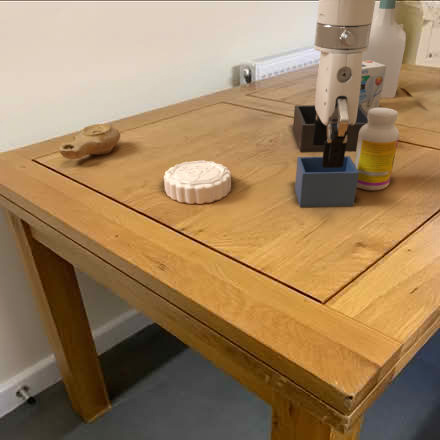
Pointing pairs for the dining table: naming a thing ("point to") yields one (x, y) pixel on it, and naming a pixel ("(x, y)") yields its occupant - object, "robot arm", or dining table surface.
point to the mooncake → (197, 182)
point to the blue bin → (325, 183)
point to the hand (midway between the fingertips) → (326, 155)
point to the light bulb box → (371, 84)
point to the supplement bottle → (376, 149)
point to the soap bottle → (387, 46)
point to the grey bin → (305, 128)
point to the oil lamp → (91, 141)
